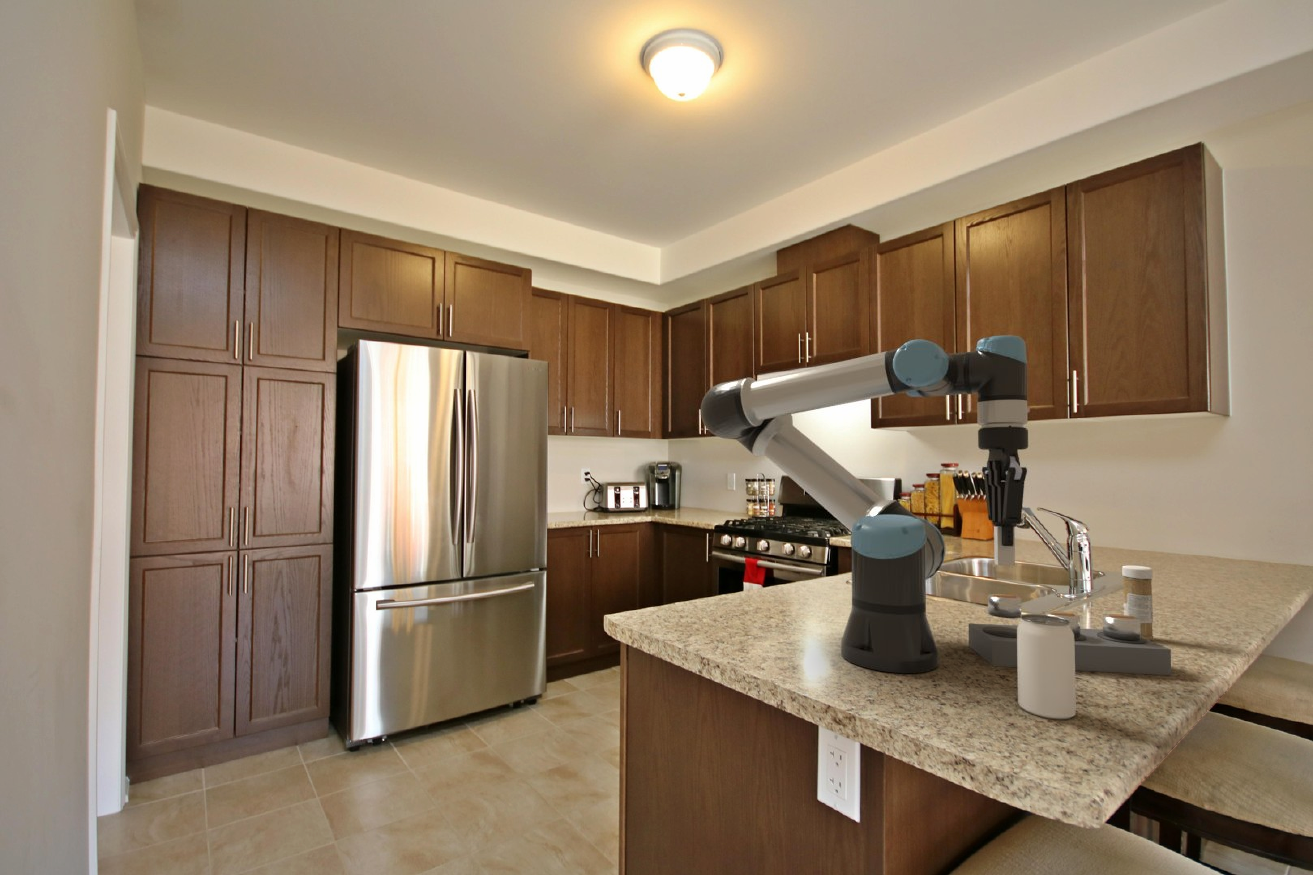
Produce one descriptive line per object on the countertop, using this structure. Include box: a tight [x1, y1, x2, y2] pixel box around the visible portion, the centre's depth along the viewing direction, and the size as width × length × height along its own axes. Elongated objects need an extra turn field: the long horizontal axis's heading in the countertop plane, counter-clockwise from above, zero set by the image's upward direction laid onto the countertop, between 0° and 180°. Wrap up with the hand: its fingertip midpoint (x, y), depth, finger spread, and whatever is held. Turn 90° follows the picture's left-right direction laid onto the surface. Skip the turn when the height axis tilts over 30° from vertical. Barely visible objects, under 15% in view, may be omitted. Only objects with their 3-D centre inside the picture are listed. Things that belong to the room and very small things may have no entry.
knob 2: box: [1102, 613, 1141, 640], centre depth 102 cm, size 5×5×3 cm
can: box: [1016, 613, 1077, 721], centre depth 82 cm, size 6×6×12 cm
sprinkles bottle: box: [1121, 564, 1154, 641], centre depth 117 cm, size 5×5×14 cm
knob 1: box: [987, 593, 1023, 620], centre depth 105 cm, size 5×5×3 cm
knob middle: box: [1044, 610, 1081, 637], centre depth 104 cm, size 5×5×3 cm
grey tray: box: [968, 622, 1172, 676], centre depth 104 cm, size 26×11×4 cm, turn 81°
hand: (1004, 564), depth 105 cm, fingers closed
